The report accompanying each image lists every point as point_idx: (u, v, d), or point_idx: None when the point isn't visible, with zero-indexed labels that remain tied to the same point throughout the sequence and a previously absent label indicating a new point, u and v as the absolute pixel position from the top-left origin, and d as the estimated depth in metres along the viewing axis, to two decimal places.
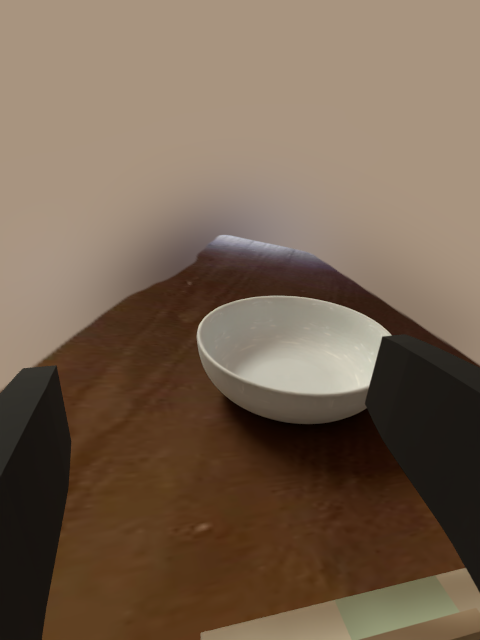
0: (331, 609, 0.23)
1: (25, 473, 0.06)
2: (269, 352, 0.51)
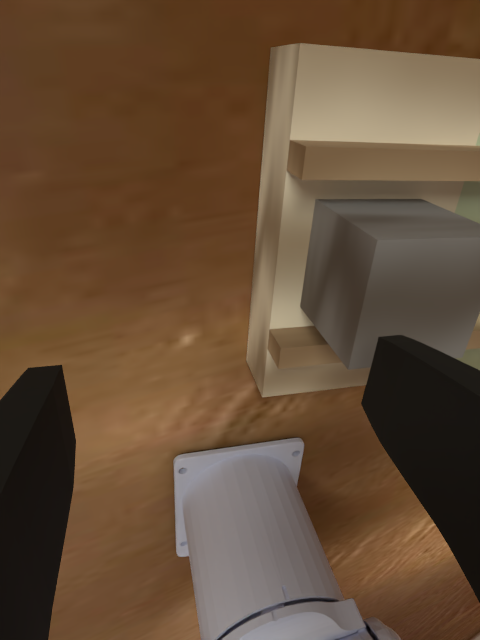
0: None
1: (32, 472, 0.06)
2: None
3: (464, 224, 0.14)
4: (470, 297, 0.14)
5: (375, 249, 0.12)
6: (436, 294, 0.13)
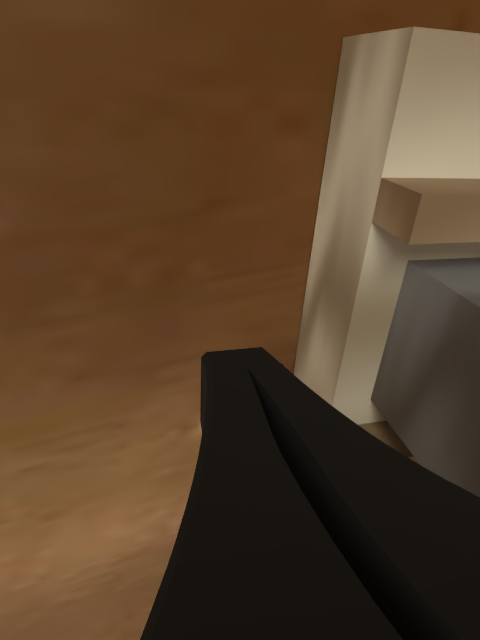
0: None
1: None
2: None
3: None
4: None
5: None
6: None
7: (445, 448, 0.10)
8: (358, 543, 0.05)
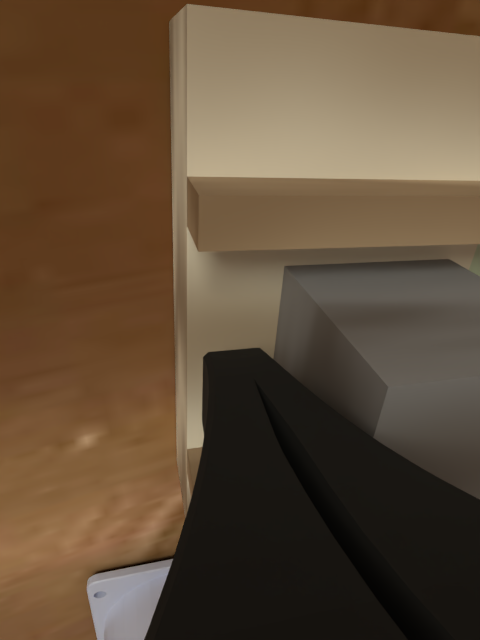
0: None
1: None
2: None
3: None
4: None
5: (382, 401, 0.06)
6: None
7: None
8: (354, 544, 0.05)
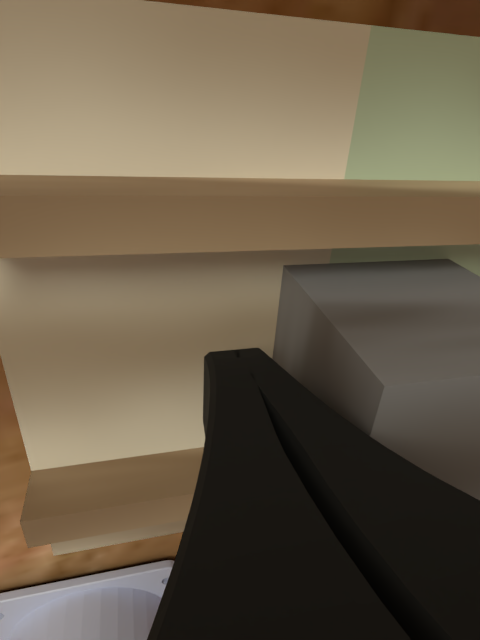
0: (348, 50, 0.08)
1: None
2: None
3: None
4: None
5: (380, 400, 0.06)
6: None
7: None
8: (353, 544, 0.05)
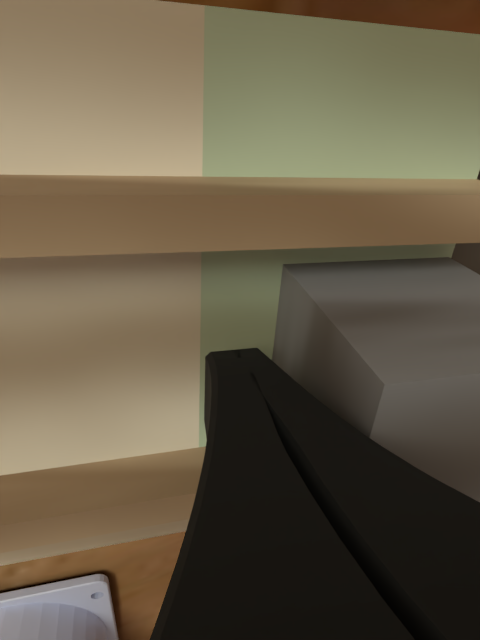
0: (182, 33, 0.07)
1: None
2: None
3: None
4: None
5: (379, 398, 0.06)
6: None
7: None
8: (350, 545, 0.05)
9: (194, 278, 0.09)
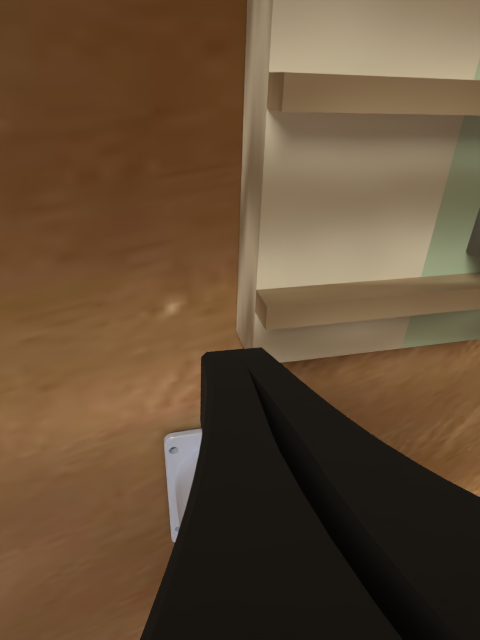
0: None
1: None
2: None
3: None
4: None
5: None
6: None
7: None
8: (358, 544, 0.05)
9: (452, 147, 0.16)
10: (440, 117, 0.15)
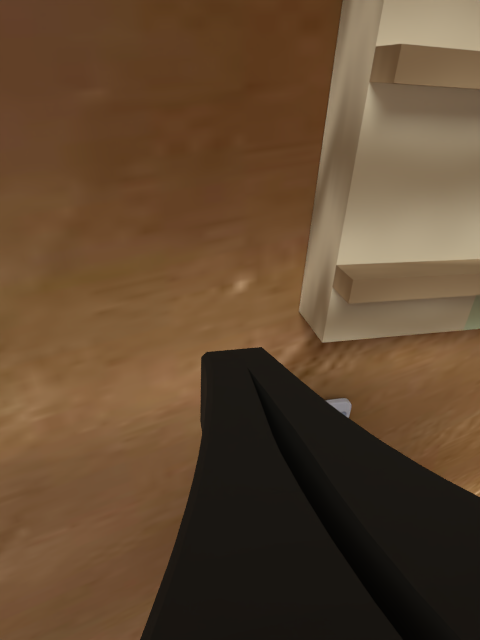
0: None
1: None
2: None
3: None
4: None
5: None
6: None
7: None
8: (356, 542, 0.05)
9: None
10: None
